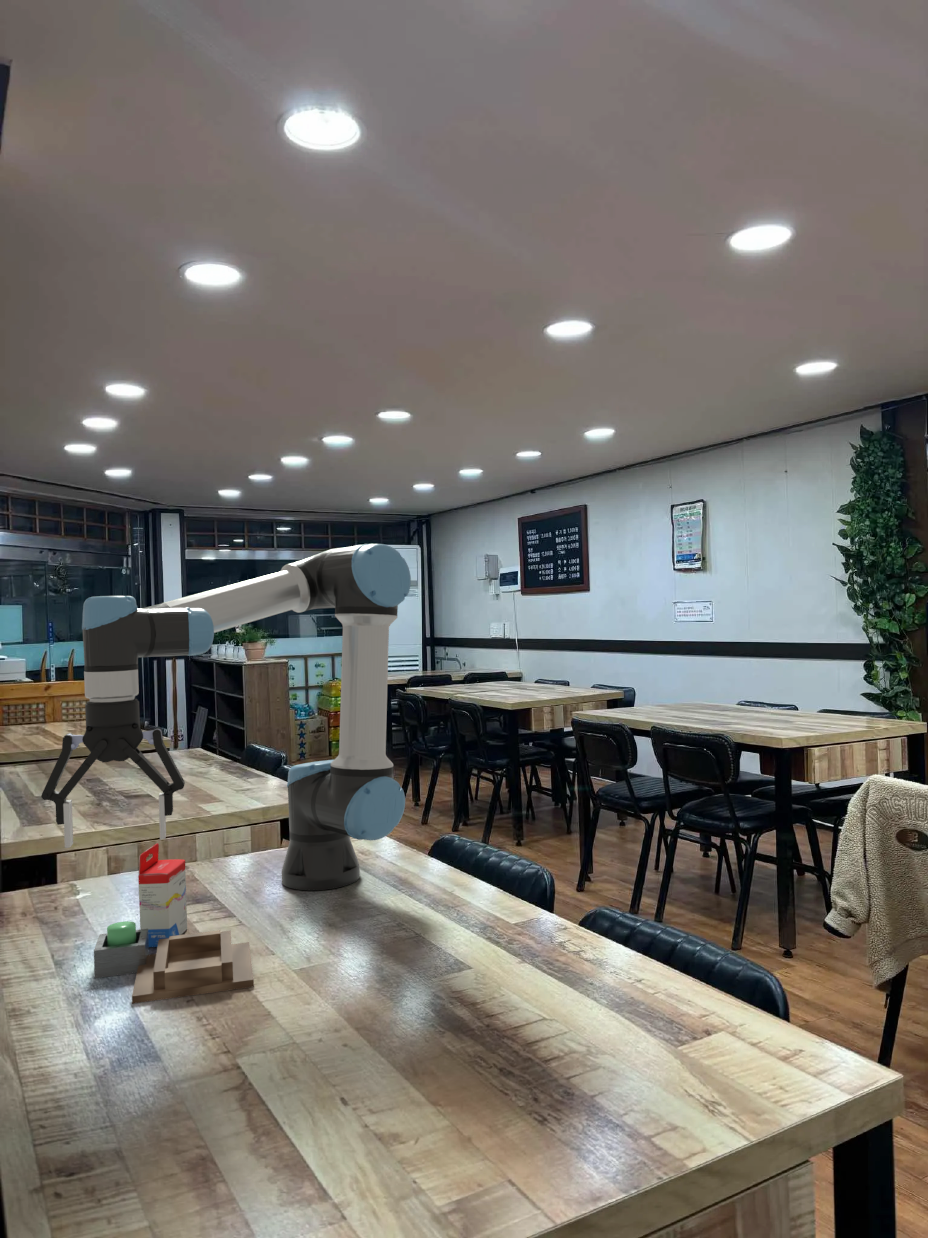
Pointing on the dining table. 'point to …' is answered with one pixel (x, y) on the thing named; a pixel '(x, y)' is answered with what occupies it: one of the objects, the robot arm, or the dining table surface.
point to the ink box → (162, 896)
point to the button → (121, 933)
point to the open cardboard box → (193, 967)
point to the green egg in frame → (120, 956)
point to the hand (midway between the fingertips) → (116, 841)
